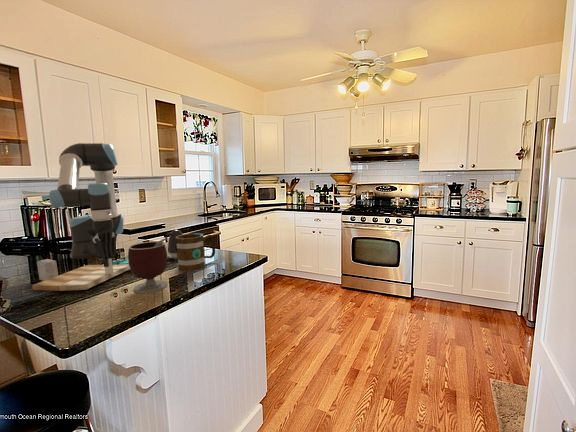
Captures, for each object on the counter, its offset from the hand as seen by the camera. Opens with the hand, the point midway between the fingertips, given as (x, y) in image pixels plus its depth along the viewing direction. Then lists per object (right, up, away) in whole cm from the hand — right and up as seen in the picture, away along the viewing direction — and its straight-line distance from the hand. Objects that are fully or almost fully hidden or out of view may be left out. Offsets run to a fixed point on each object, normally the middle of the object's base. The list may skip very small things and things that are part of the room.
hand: (109, 273), depth 134 cm
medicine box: (-29, -4, +3) cm, 29 cm away
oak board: (-17, -3, +3) cm, 18 cm away
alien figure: (-3, 0, +29) cm, 30 cm away
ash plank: (-5, -2, +1) cm, 6 cm away
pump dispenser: (+18, +2, +34) cm, 38 cm away
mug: (+33, +1, +17) cm, 38 cm away
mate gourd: (+24, -4, -11) cm, 27 cm away
